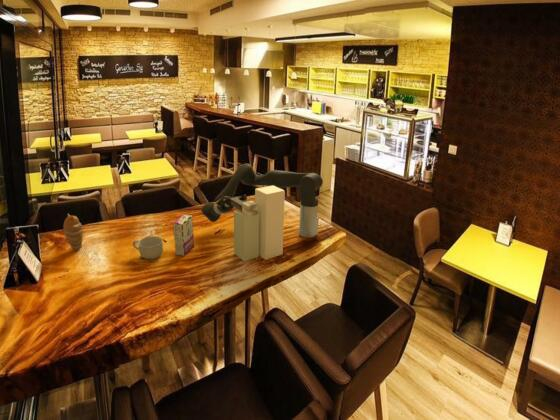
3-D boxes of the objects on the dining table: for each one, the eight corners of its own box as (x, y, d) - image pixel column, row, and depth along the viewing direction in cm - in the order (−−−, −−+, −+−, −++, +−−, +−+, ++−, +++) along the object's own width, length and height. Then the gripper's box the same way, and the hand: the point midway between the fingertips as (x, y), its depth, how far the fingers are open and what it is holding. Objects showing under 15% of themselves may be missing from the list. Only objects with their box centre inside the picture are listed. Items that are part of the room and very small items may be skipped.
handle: (237, 203, 184) (237, 193, 182) (257, 214, 172) (257, 203, 170) (228, 205, 181) (228, 195, 180) (248, 216, 169) (248, 205, 167)
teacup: (168, 253, 181) (167, 238, 178) (154, 263, 172) (152, 247, 169) (143, 248, 185) (142, 233, 183) (128, 258, 176) (126, 242, 173)
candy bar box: (185, 245, 190) (183, 214, 184) (194, 246, 189) (192, 215, 184) (174, 255, 180) (172, 222, 174) (184, 256, 179) (182, 224, 173)
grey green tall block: (248, 249, 187) (248, 207, 180) (258, 256, 181) (259, 213, 173) (234, 253, 183) (233, 210, 175) (244, 261, 176) (244, 216, 168)
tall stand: (271, 247, 191) (273, 185, 179) (282, 254, 184) (284, 190, 173) (254, 252, 185) (255, 188, 174) (265, 259, 178) (266, 194, 167)
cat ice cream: (64, 249, 182) (57, 214, 175) (81, 244, 187) (75, 210, 181) (71, 256, 176) (65, 219, 170) (89, 250, 182) (83, 215, 175)
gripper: (238, 210, 195) (253, 203, 182) (212, 215, 187) (226, 208, 174) (234, 196, 195) (248, 188, 182) (208, 201, 187) (222, 192, 174)
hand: (237, 198), depth 178 cm, fingers open, 8 cm apart
